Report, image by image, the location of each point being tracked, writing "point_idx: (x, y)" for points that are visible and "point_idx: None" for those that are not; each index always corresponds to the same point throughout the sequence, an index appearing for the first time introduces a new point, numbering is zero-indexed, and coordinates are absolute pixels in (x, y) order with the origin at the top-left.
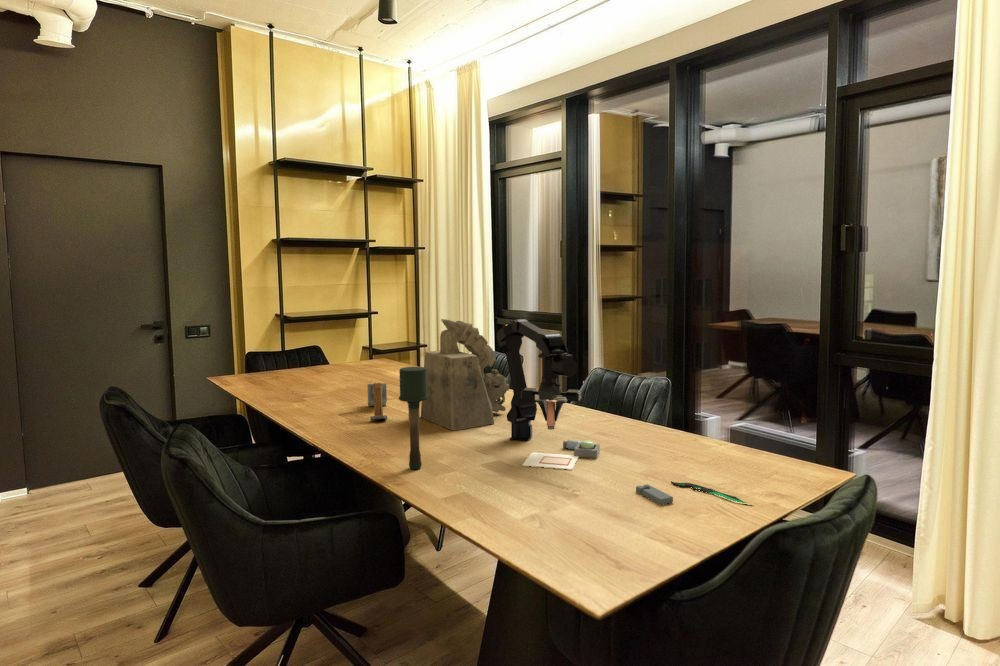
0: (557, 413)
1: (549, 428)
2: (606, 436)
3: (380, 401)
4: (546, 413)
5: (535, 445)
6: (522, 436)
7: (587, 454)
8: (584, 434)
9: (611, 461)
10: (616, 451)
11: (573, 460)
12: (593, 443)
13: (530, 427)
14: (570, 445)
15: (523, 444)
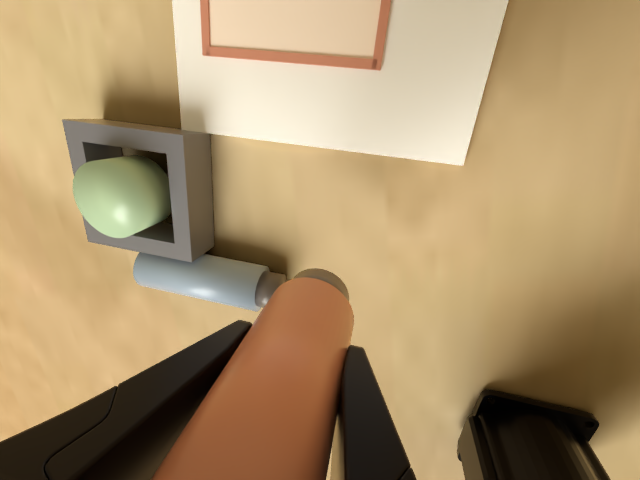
0: (152, 372)
1: (327, 276)
2: None
3: None
4: (337, 437)
5: (439, 321)
6: (522, 420)
7: (131, 124)
8: None
9: (31, 80)
10: (66, 244)
11: (190, 23)
12: (78, 192)
13: (483, 476)
14: (240, 266)
15: (512, 338)
